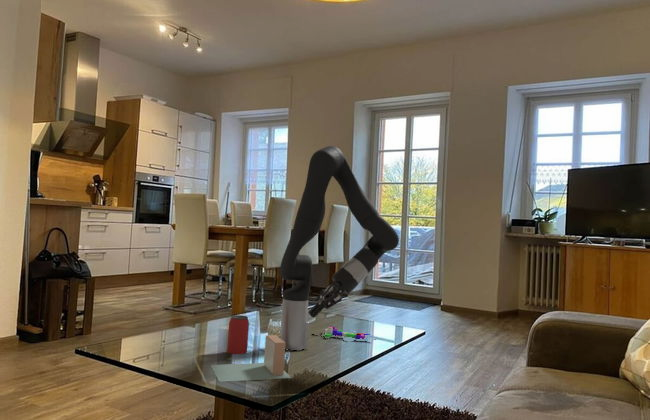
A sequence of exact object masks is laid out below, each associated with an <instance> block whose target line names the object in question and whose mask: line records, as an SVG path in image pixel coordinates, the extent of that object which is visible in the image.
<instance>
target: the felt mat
mask: <svg viewBox="0 0 650 420" xmlns="http://www.w3.org/2000/svg"><path fill="white" fill-rule="evenodd" d="M209 366H210V367H211V370H212V372H213V373H214V374H215V375H214V376H215V377H216V379H217V380H218V382H219V383H221V382H222V383H224V382H239V381H241V382H242V381H259V380H261V381H262V380H263V381H264V380H276V379H277V380H278V379H279V380H280V379H292V378H293V377H292V376H290V375H289V373H288V372H286V370H284V375H272V374H271V373H270V371H269V370H268V369H267V368H266V367H265V366H264V362H255V363H254V362H253V363H227V364H225V363H224V364H223V363H222V364H210V365H209Z"/></svg>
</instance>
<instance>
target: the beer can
mask: <svg viewBox="0 0 650 420" xmlns="http://www.w3.org/2000/svg"><path fill="white" fill-rule="evenodd" d="M249 330H250V322H249V317H248V316H247V315H239V314H238V315H231V317H230V320H229V322H228V331H227V332H228V334H227V342H226V343H227V347H226V353H227V354H228V355H242V354H243V355H244V354H245V355H246V354H247V353H248V344H249V343H248V342H249Z"/></svg>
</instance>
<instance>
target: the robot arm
mask: <svg viewBox="0 0 650 420" xmlns="http://www.w3.org/2000/svg"><path fill="white" fill-rule="evenodd" d="M332 178H334V180H335V181H336V182H337V183H338V185H339V186H340V188H341V191H342V192H343V195H344V197H345V201H346V204H347V206H348V208H349V211H350V212H351V214H352V215H353V217H354V218H355V220H356V221H357V222H358V224H359V225H360V227H361V228H362V229H364V231H365V230H366V231H368V232H369V233H370V234H371V235H372V236H371V237H370V238H369V239H368V240H367V242H366V243H365V244H364V245H363V247H362V248H361V249H359V251H358V252H356V253H355V254H354V255H353V256H352V258H350V259H349V260H347V261H346V262H345V263H344V264H343V265H342V266H341V267H340V268H339V269H338V270H337V271H336V272H335V273H334V274H333V275H332V276H331V280H332V283H331V284H330V285H328V286H327V287H326V288H325V289H324V288H322V289H321V290H320V291H319V293H318V295H317V297H316V299H315V304H314V306H312V308H311V307H310V309H309V296H310V292H311V281H312V274H313V261H312V258H311V257H310V256H309V255H307V254H299V253H300V251H302V249H303V248H304V246H306V245H307V244H308V243H309V242H310V241H311V240H313V239H314V237H315V236H317V234H318V233H319V232H320V230H321V229H322V225H323V222H324V218H325V217H326V215H325V214H326V199H325V198H326V192H327V190H328V186H329V184H330V181H331V180H332ZM305 181H306V182H305V187H304V190H303V192H302V196H301V199H300V203H299V206H298V208H297V209H298V210H297V213H296V215H295V220H294V223H293V227H292V230H291V235H290V238H289V241H288V243H287V245H286V249H285V251H284V253H283V256H282V259H281V262H280V266H279V272H280V273H279V274H280V277H281V278H282V280H286V281H297V284H295V285H294V286H292V287H291V288H288V289H285V290H284V291H283V292H282V303H281V304H282V305H281V319H280V321H281V322H280V334H279V336H280V337H279V338H280V339H282V340H283V341H284V342H286V346H285V349H290V350H289V351H293V350H297V351H303V350H302V349H304V350H308V339H309V328H310V327H309V324H310V322H309V321H308V314H309V316H310V317H311V318H313V319H314V318H316V317H317V316H318V315H319V313H321V312H322V311H323V310H325V309H326V310H328V309H330V308H332V307H333V306H335V305H337V304H339V303H340V302H342V300H343V298H342V296H343V295H344V294H346V295H350V294H351V293H352V292H353V291H354V290H355V289H356V288H357V287H358V286H359V284H361V283H362V281H363V280H364V279H365V278H366V277H367V275H368V274H369V273H370V272H371V271H372V270H373V269H374V268H375V267H376V266H377V265H378V263H379V260H380V259H381V257H382V256H384V255H385V253H386V252H390V251H393V250H394V249H396V248H397V247H398V245H399V238H400V237H399V235H398V233H397V231H396V229H394V227H393V226H392V225H391V224H390V223H389V222H388V221H387V220H386V219H385V218H384V217H382V216H381V215H380V213H379V212H378V210H377V209H376V207H375V206H374V205H373V203H372V202H371V200H370V199H369V198H368V196H367V195H366V193H365V192H364V190H363V189H362V187H361V185H360V184H359V181H358V180H357V178H356V177H355V175H354V173H353V171H352V169H351V167H350V164H349V162H348V161H347V159H346V157H345V155H344V153H343V152H342V150H341V149H340V148H338V147H337V146H333V145H328V146H324V147H323V148H320V149H318V150H316V151H314V153H313V154H312V155H311V157H310V161H309V164H308V171H307V176H306V180H305Z"/></svg>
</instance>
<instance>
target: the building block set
mask: <svg viewBox="0 0 650 420" xmlns="http://www.w3.org/2000/svg"><path fill="white" fill-rule="evenodd" d="M343 331H344V330H343V329H336V327H335V326H334V325H333V326H332V325H331V326H328V328H325V329H324V333H325V336H324V337H331V336H332V335H335V336H336V335H337V336H344V337H352V338H355V339H360V338H362V339H364V338H365V335H370V333H366V332H361V333H357V334H354V333H348V332H343ZM370 336H371V335H370Z"/></svg>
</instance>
